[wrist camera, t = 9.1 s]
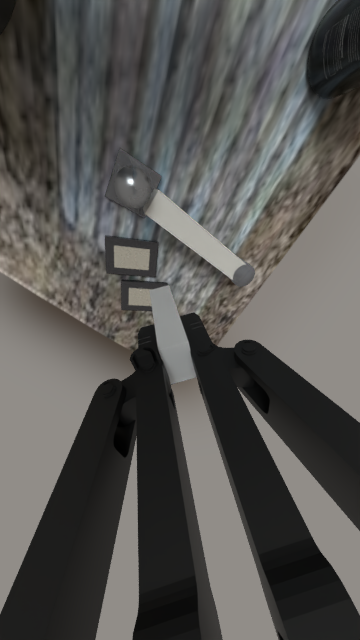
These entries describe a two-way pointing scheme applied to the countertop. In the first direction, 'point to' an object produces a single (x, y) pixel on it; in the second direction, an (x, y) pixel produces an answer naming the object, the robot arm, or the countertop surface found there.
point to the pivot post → (131, 183)
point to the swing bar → (197, 238)
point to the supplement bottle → (336, 51)
